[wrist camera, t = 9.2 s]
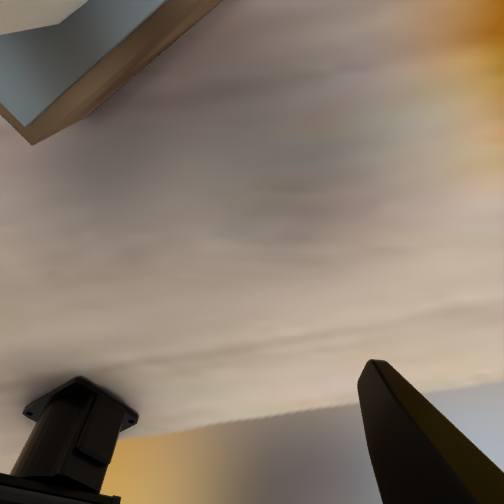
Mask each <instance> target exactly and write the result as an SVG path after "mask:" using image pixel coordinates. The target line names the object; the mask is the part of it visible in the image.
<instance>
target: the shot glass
mask: <svg viewBox="0 0 504 504" xmlns="http://www.w3.org/2000/svg"><path fill="white" fill-rule="evenodd" d="M87 1H88V0H0V35H2V34H8V33H13V32H19V31H24V30H29V29H35V28H40V27H45V26H51V25H56V24H59V23H60V22H62V21H63V20H64V19H66V18H67V17H68V16H69V15H71V14H72V13H73V12H75V11H76V10H77V9H78V8H80V7H81V6H82V5H84V4H85V3H86V2H87Z"/></svg>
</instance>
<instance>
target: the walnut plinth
mask: <svg viewBox="0 0 504 504" xmlns="http://www.w3.org/2000/svg"><path fill="white" fill-rule="evenodd" d="M221 1H222V0H88V1H87V2H86V3H85V4H84V5H82V6H81V7H80V8H78V9H77V10H76V11H75V12H73V13H72V14H71V15H69V16H68V17H67V18H66V19H64V20H63V21H62V22H60V23H59V24H56V25H51V26H45V27H40V28H35V29H29V30H24V31H19V32H13V33H8V34H2V35H0V115H1V116H2V117H3V118H5V119H6V120H7V121H8V122H9V123H10V124H11V125H12V126H13V127H14V128H15V129H16V130H17V131H18V132H19V133H20V134H21V135H22V136H23V137H24V138H25V139H26V140H27V141H28V142H29V143H30V144H31V145H34V144H36V143H38V142H40V141H42V140H44V139H46V138H47V137H49V136H51V135H53V134H55V133H57V132H59V131H61V130H62V129H64V128H66V127H68V126H70V125H72V124H74V123H76V122H77V121H79V120H81V119H83V118H85V117H86V116H88V115H89V114H90V113H91V112H92V111H93V110H95V109H96V108H97V107H98V106H99V105H101V104H102V103H103V102H104V101H105V100H106V99H108V98H109V97H110V96H111V95H112V94H113V93H115V92H116V91H117V90H118V89H119V88H120V87H122V86H123V85H124V84H125V83H126V82H127V81H129V80H130V79H131V78H132V77H133V76H135V75H136V74H137V73H138V72H139V71H140V70H142V69H143V68H144V67H145V66H146V65H147V64H149V63H150V62H151V61H152V60H153V59H154V58H156V57H157V56H158V55H159V54H160V53H161V52H163V51H164V50H165V49H166V48H167V47H169V46H170V45H171V44H172V43H173V42H174V41H176V40H177V39H178V38H179V37H180V36H181V35H183V34H184V33H185V32H186V31H187V30H188V29H190V28H191V27H192V26H193V25H194V24H195V23H197V22H198V21H199V20H200V19H201V18H203V17H204V16H205V15H206V14H207V13H208V12H210V11H211V10H212V9H213V8H214V7H215V6H217V5H218V4H219V3H220V2H221Z"/></svg>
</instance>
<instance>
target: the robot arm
mask: <svg viewBox="0 0 504 504" xmlns="http://www.w3.org/2000/svg"><path fill="white" fill-rule="evenodd" d="M357 389H358V395H359V401H360V407H361V412H362V418H363V424H364V430H365V435H366V441H367V446H368V451H369V455H370V459H371V463H372V466H373V470H374V474H375V477H376V481H377V484H378V487H379V492H380V495H381V499H382V502H383V504H504V472H503V471H501V469H499V468H498V467H497V466H496V465H495V464H494V463H493V462H492V461H491V460H490V459H489V458H488V457H487V456H486V455H484V453H483V452H482V451H481V450H479V449H478V448H477V447H476V446H475V445H474V444H473V443H472V442H471V441H470V440H469V439H468V438H467V437H466V436H465V435H464V434H463V433H462V432H460V431H459V430H458V429H457V428H456V427H455V426H454V425H453V424H452V423H451V422H450V421H449V420H448V419H447V418H446V417H445V416H444V415H443V414H442V413H440V412H439V411H438V410H437V409H436V408H435V407H434V406H433V405H432V404H431V403H430V402H429V401H428V400H427V399H426V398H425V397H424V396H423V395H422V394H421V393H420V392H418V391H417V390H416V389H415V388H414V387H413V386H412V385H411V384H410V383H409V382H408V381H407V380H406V379H405V378H404V377H403V376H402V375H401V374H400V373H398V372H397V371H396V370H395V369H394V368H393V367H392V366H391V365H390V364H389V363H388V362H386V361H384V360H375V359H370V360H369V361H368V362H367V363H366V365H365V367H364V369H363V371H362V373H361V375H360V377H359V380H358V384H357ZM23 415H25V416H26V417H28V418H30V419H32V420H33V421H35V422H37V423H36V425H35V427H34V429H33V430H32V432H31V434H30V436H29V438H28V440H27V442H26V444H25V446H24V448H23V450H22V452H21V454H20V456H19V457H18V460H17V461H16V463H15V465H14V467H13V469H12V471H11V473H10V475H7V474H3V473H0V504H120V500H121V497H119V496H114V495H113V496H107V495H102V494H99V493H100V490H101V487H102V484H103V480H104V477H105V474H106V471H107V467H108V465H109V464H110V462H111V459H112V456H113V453H114V449H115V446H116V442H117V439H118V436H119V432H121V431H123V430H125V429H127V428H129V427H131V426H133V425H135V424H137V422H138V418H139V417H138V415H137V414H135V413H134V412H132V411H131V410H129V409H128V408H126V407H125V406H123V405H122V404H120V403H119V402H117V401H116V400H114V399H113V398H111V397H110V396H108V395H107V394H105V393H104V392H102V391H101V390H99V389H98V388H96V387H95V386H93V385H92V384H90V383H89V382H87V381H86V380H84V379H82V378H76V379H74V380H72V381H70V382H68V383H66V384H65V385H63V386H61V387H59V388H58V389H56V390H54V391H52V392H51V393H49V394H47V395H45V396H43V397H42V398H40V399H38V400H36V401H35V402H33V403H31V404H29V405H28V406H26V407H25V409H24V411H23Z"/></svg>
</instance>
